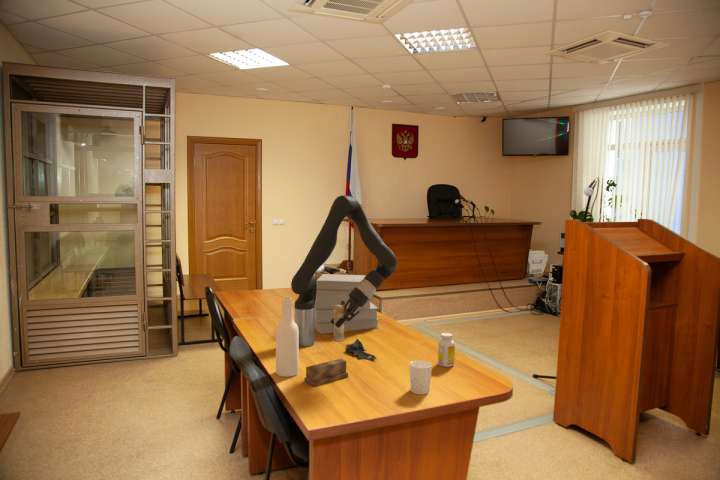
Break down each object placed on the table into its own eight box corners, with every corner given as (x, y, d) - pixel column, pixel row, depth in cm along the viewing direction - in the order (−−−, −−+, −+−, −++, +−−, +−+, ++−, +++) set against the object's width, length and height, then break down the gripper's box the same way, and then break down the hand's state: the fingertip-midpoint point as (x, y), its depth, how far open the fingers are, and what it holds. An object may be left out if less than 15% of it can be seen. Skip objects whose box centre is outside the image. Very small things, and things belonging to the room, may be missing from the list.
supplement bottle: (455, 363, 209) (456, 333, 207) (452, 368, 202) (453, 337, 201) (439, 361, 211) (440, 331, 209) (436, 366, 204) (437, 335, 203)
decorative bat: (338, 334, 234) (358, 334, 237) (337, 342, 234) (357, 342, 237) (355, 354, 206) (378, 354, 209) (354, 364, 206) (377, 364, 209)
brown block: (312, 386, 182) (312, 370, 181) (304, 381, 187) (304, 366, 186) (348, 377, 192) (348, 361, 191) (339, 372, 196) (339, 357, 196)
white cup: (407, 386, 183) (407, 360, 182) (428, 386, 183) (429, 360, 182) (411, 395, 175) (411, 368, 174) (433, 395, 176) (434, 367, 175)
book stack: (302, 321, 271) (302, 274, 268) (362, 315, 284) (362, 271, 282) (319, 336, 243) (320, 285, 241) (384, 329, 257) (385, 280, 254)
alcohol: (273, 371, 197) (272, 296, 194) (294, 368, 200) (294, 295, 197) (279, 379, 189) (278, 301, 186) (301, 375, 192) (301, 299, 189)
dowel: (331, 340, 199) (332, 305, 198) (339, 338, 202) (340, 304, 200) (337, 342, 196) (338, 307, 194) (345, 340, 198) (346, 306, 197)
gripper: (349, 283, 206) (321, 314, 202) (364, 290, 193) (334, 323, 189) (360, 295, 209) (333, 326, 205) (376, 302, 196) (347, 335, 192)
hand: (334, 324), depth 197 cm, fingers closed on dowel, 4 cm apart
